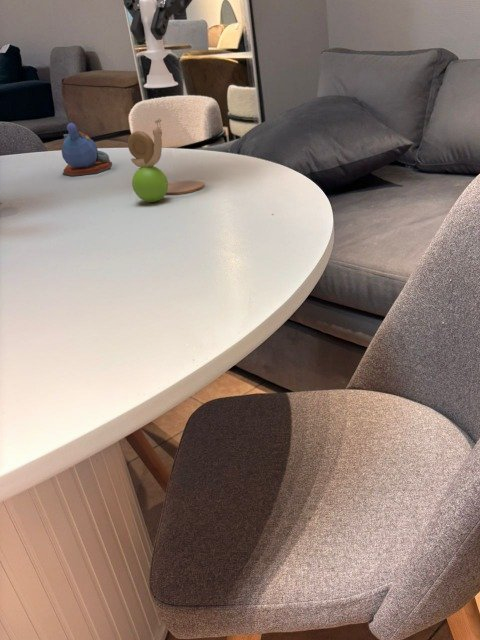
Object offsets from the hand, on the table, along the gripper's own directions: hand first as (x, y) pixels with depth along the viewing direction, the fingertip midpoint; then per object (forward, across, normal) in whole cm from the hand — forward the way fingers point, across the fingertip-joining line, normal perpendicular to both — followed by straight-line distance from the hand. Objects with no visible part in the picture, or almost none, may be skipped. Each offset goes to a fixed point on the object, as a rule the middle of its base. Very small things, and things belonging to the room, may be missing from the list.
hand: (146, 36), depth 94 cm
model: (+4, -30, +28) cm, 41 cm away
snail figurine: (+20, 0, +12) cm, 23 cm away
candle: (+4, 0, +6) cm, 7 cm away
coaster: (+15, 0, +17) cm, 22 cm away
